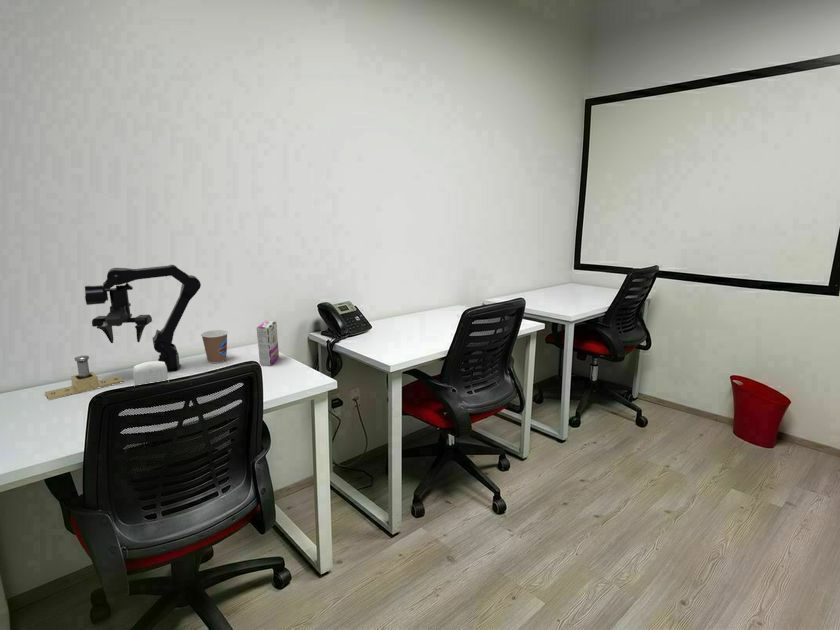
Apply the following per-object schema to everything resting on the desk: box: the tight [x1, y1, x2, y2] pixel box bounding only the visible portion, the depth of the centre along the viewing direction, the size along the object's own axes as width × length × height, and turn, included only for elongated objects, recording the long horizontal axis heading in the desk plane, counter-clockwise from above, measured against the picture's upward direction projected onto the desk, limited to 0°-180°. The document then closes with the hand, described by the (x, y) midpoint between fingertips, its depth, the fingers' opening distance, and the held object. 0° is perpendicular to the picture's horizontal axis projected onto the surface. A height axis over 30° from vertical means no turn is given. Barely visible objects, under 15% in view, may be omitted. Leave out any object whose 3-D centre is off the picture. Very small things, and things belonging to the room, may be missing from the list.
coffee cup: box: [200, 329, 229, 364], centre depth 202 cm, size 10×10×12 cm
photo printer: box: [132, 360, 169, 385], centre depth 165 cm, size 10×4×12 cm, turn 123°
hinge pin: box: [74, 355, 91, 379], centre depth 171 cm, size 4×4×12 cm
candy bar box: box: [256, 320, 280, 367], centre depth 201 cm, size 11×5×16 cm, turn 179°
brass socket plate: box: [44, 371, 125, 401], centre depth 172 cm, size 23×7×4 cm, turn 136°
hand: (125, 342), depth 183 cm, fingers open, 9 cm apart
